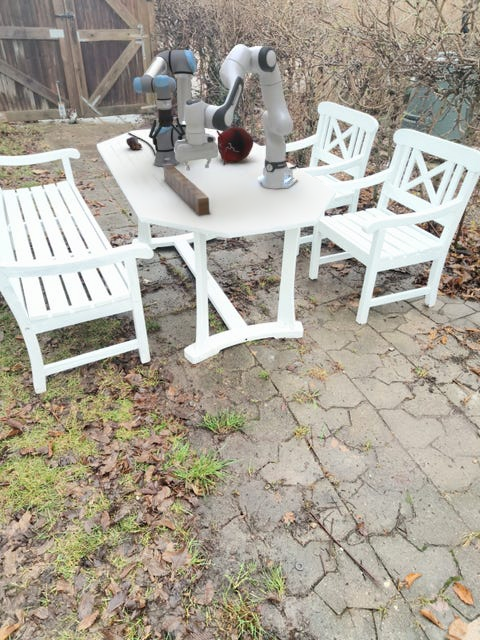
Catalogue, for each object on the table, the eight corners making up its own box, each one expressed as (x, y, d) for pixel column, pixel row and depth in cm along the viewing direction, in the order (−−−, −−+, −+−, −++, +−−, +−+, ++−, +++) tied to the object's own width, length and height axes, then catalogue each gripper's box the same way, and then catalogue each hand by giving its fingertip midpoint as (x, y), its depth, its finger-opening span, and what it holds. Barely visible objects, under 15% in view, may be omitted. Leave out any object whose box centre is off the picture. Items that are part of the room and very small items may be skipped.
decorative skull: (214, 133, 304) (214, 130, 280) (248, 125, 303) (250, 121, 280) (221, 165, 311) (221, 165, 287) (254, 158, 310) (257, 157, 286)
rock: (139, 148, 333) (125, 149, 329) (137, 135, 329) (123, 137, 325) (143, 149, 323) (130, 150, 319) (141, 136, 320) (128, 137, 316)
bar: (164, 180, 266) (163, 166, 261) (173, 179, 267) (172, 165, 263) (199, 215, 219) (198, 199, 214) (209, 213, 221) (208, 197, 216)
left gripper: (143, 111, 233) (148, 153, 245) (189, 107, 241) (191, 148, 253) (140, 109, 239) (145, 150, 251) (184, 105, 247) (187, 145, 259)
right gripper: (175, 142, 198) (178, 173, 206) (218, 137, 205) (219, 168, 213) (171, 139, 203) (174, 169, 211) (214, 134, 210) (215, 164, 218)
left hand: (168, 149), depth 252 cm, fingers open, 13 cm apart
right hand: (197, 169), depth 212 cm, fingers open, 8 cm apart
